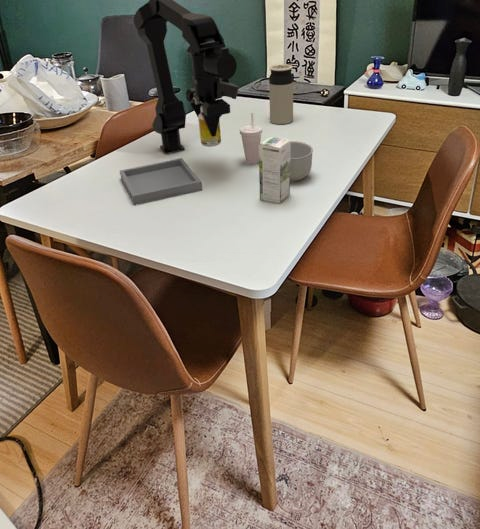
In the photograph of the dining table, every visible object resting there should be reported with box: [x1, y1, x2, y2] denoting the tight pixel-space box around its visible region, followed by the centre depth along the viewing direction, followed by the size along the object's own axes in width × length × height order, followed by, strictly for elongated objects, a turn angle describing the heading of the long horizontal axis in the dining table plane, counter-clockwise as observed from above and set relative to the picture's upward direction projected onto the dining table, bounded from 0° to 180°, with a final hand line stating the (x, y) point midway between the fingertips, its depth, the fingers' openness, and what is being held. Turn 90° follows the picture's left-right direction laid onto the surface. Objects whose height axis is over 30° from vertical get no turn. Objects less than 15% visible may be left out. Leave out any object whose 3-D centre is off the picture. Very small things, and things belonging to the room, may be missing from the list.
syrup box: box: [258, 136, 292, 205], centre depth 118 cm, size 6×6×14 cm
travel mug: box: [268, 63, 294, 125], centre depth 166 cm, size 8×8×18 cm
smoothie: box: [239, 112, 263, 165], centre depth 138 cm, size 6×6×14 cm
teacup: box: [290, 140, 314, 182], centre depth 130 cm, size 14×11×8 cm
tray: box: [119, 157, 203, 206], centre depth 132 cm, size 18×18×2 cm
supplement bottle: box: [197, 106, 222, 148], centre depth 132 cm, size 6×6×10 cm
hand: (210, 132), depth 133 cm, fingers closed on supplement bottle, 5 cm apart
